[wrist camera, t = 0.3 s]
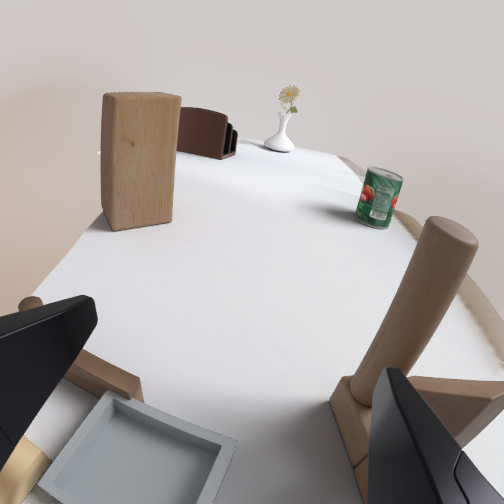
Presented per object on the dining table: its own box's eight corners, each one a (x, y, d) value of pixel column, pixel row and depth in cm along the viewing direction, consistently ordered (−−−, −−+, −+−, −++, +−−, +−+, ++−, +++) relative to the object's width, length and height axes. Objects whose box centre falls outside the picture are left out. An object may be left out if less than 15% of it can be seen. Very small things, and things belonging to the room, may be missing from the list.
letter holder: (221, 160, 89) (227, 112, 82) (164, 149, 94) (168, 104, 87) (235, 155, 97) (242, 111, 90) (182, 144, 102) (186, 103, 95)
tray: (183, 566, 12) (182, 565, 10) (50, 495, 13) (37, 484, 12) (233, 453, 20) (237, 440, 19) (115, 403, 22) (110, 386, 21)
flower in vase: (258, 145, 116) (269, 81, 104) (285, 147, 121) (296, 86, 108) (272, 154, 106) (285, 83, 94) (301, 156, 110) (314, 89, 98)
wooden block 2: (363, 507, 16) (544, 334, 8) (327, 400, 26) (413, 208, 17) (402, 494, 17) (571, 324, 8) (362, 395, 26) (454, 216, 17)
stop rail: (132, 419, 21) (120, 369, 18) (29, 357, 23) (7, 303, 20) (145, 400, 23) (137, 347, 20) (43, 343, 25) (25, 289, 22)
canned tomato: (347, 212, 67) (360, 164, 62) (375, 213, 70) (388, 169, 64) (367, 229, 61) (383, 177, 55) (395, 230, 63) (411, 182, 58)
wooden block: (112, 232, 45) (113, 96, 35) (101, 207, 52) (102, 93, 42) (172, 223, 50) (183, 96, 40) (153, 200, 57) (160, 92, 47)
